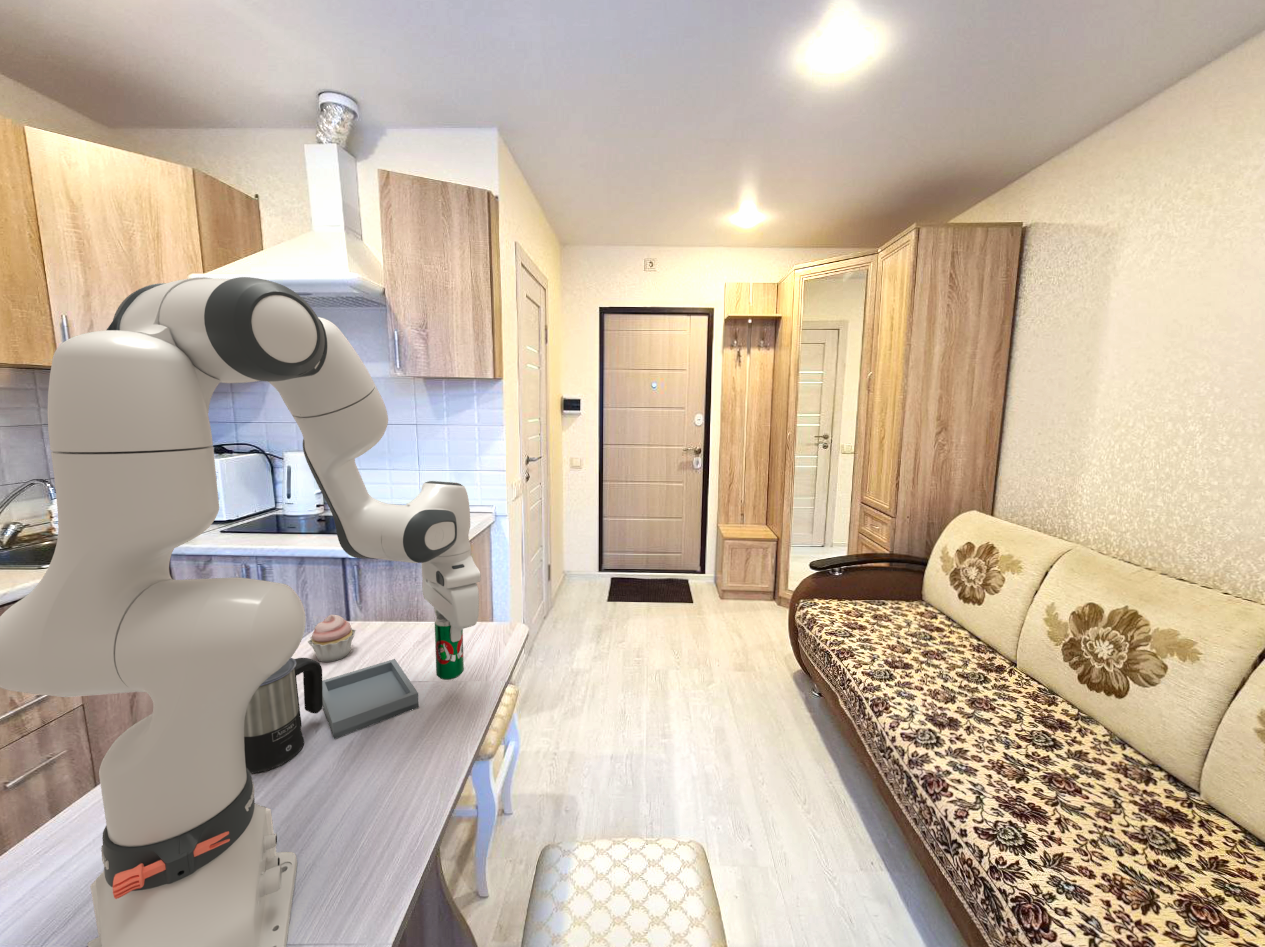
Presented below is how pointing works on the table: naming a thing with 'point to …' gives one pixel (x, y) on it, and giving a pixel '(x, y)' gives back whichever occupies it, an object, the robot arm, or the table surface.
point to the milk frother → (280, 714)
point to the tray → (367, 697)
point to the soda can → (447, 651)
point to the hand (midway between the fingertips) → (449, 633)
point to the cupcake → (332, 638)
